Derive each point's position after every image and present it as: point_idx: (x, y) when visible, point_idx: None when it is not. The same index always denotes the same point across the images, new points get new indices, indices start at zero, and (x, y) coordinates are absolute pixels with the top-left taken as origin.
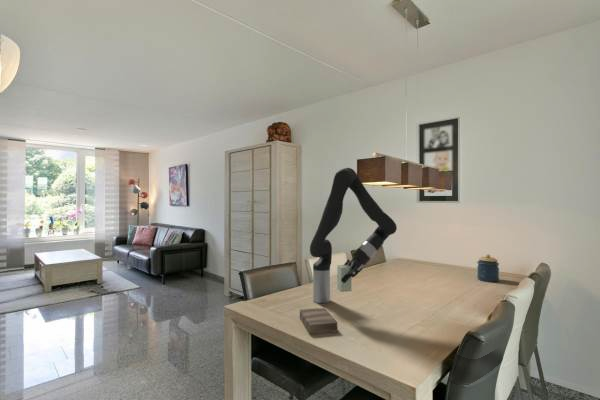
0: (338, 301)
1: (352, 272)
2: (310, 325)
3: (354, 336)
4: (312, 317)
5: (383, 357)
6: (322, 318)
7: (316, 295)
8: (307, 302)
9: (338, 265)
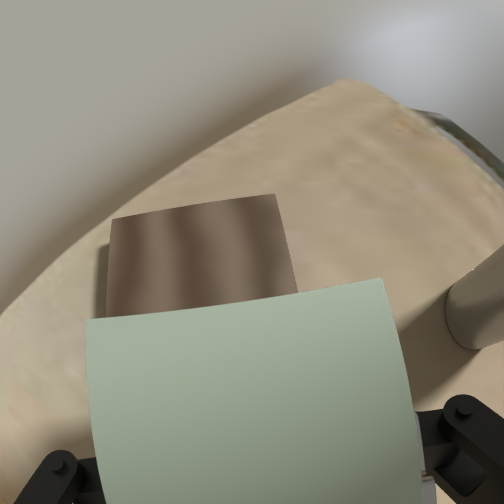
0: (470, 388)
1: (37, 488)
2: (113, 224)
3: (82, 384)
4: (174, 234)
5: None
6: (155, 273)
7: (466, 279)
8: (445, 256)
9: (365, 304)
